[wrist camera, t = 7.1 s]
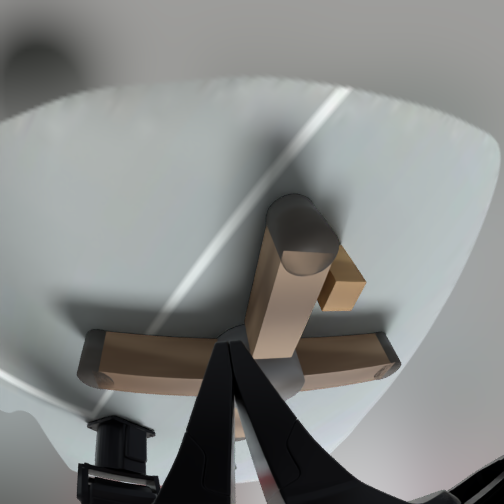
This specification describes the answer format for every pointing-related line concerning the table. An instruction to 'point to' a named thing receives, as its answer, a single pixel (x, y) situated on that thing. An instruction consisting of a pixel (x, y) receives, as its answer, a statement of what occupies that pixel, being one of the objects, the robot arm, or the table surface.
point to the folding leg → (288, 276)
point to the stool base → (276, 369)
